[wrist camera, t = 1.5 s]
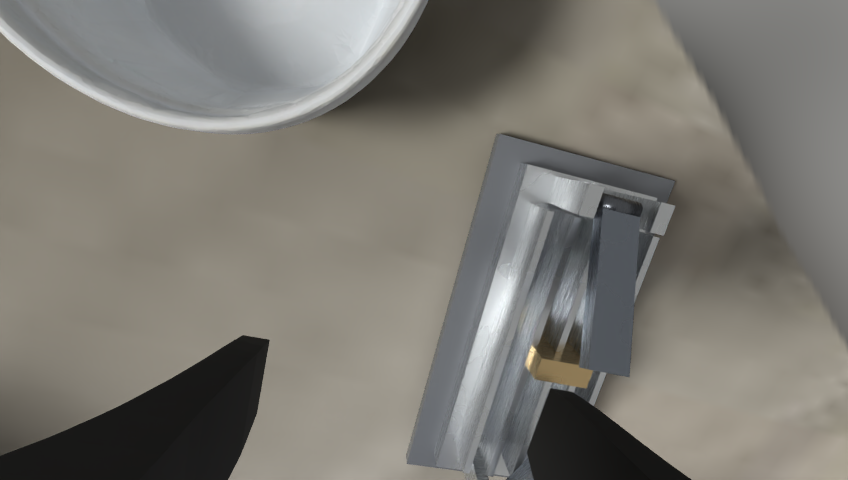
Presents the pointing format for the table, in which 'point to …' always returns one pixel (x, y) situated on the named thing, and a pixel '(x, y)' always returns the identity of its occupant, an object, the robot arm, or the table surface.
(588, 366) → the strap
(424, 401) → the slate board
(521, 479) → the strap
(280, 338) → the table surface
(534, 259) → the grey slide rail
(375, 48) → the ramekin
